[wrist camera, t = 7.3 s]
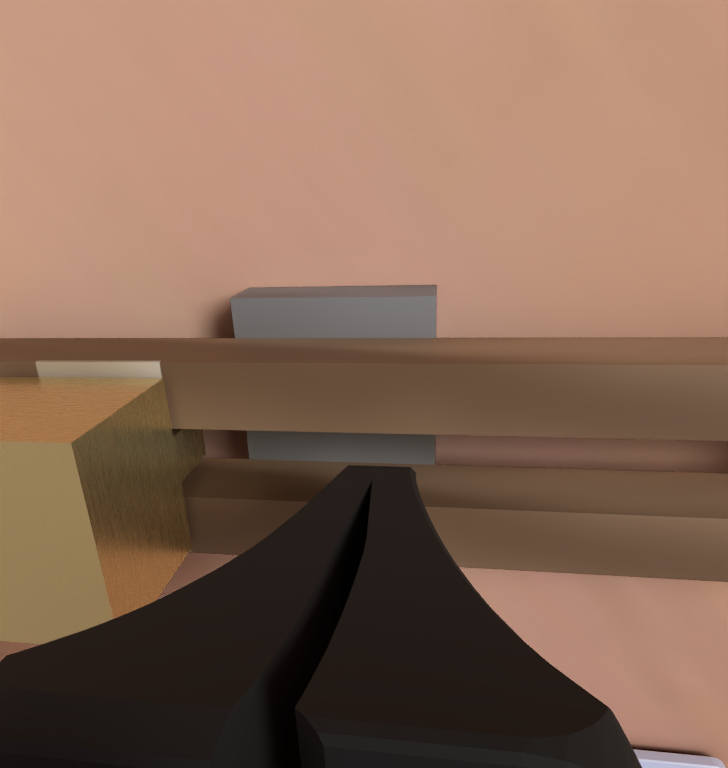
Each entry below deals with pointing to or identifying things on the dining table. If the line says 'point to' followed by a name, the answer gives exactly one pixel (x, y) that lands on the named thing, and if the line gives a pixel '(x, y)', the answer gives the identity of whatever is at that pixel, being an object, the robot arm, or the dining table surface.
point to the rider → (88, 501)
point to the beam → (432, 426)
